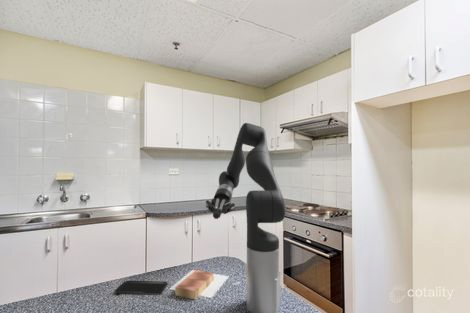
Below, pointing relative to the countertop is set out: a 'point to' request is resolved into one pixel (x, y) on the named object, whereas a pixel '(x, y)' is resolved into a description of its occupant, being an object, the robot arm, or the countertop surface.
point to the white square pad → (211, 288)
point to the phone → (141, 287)
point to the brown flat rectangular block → (194, 284)
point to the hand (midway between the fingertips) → (216, 216)
